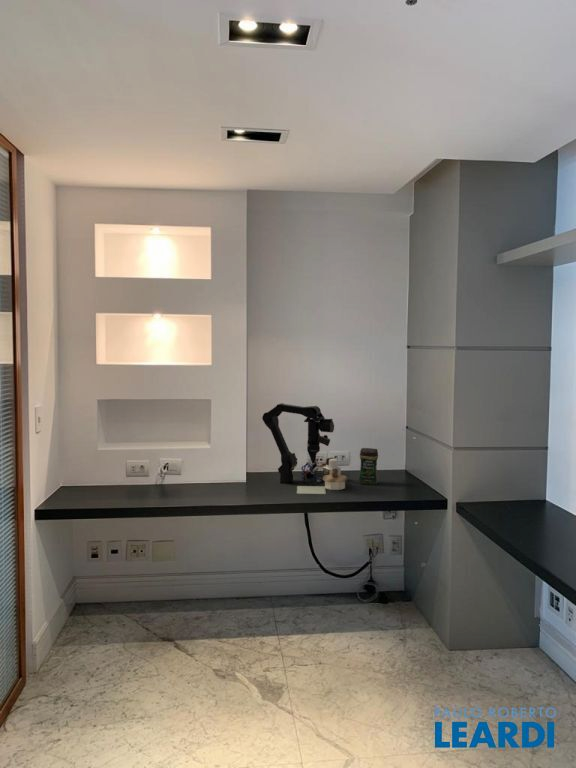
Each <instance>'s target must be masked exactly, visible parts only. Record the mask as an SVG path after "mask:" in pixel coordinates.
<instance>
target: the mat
mask: <svg viewBox="0 0 576 768" xmlns="http://www.w3.org/2000/svg"><path fill="white" fill-rule="evenodd" d="M296 494H299V495H300V494H301V495H306V494H308V495H311V494H312V495H326V494H327V493H326V488H325V485H323V486H322V485H321V486H320V485H319V486H318V485H315V486H312V485H308V486H307V485H297V486H296Z"/></svg>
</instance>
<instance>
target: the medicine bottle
mask: <svg viewBox="0 0 576 768" xmlns="http://www.w3.org/2000/svg"><path fill="white" fill-rule="evenodd" d="M325 460H326V461H325V463H326V464H325V466H323V467H322V477H323V476H325V475H330V474H332V469H338V475H342V474H341V473H342V472H341V469H342V468H341V467H338V466H339V465H338V459H337V458H336V457H328V458H326V459H325Z"/></svg>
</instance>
